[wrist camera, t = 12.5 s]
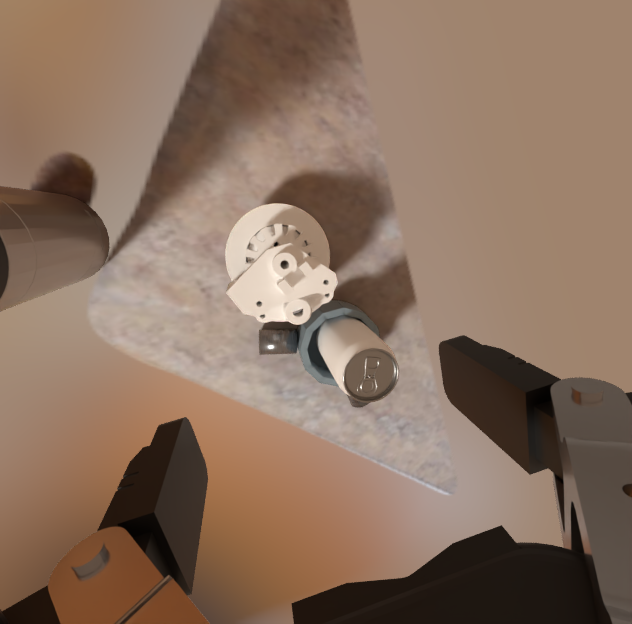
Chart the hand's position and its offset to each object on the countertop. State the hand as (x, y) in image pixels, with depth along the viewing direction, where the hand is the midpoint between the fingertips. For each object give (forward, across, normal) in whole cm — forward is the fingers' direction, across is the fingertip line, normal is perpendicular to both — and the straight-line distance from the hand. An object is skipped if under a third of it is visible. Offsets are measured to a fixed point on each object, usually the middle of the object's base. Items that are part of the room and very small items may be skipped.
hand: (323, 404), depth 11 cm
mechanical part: (+33, -1, -1) cm, 33 cm away
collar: (+33, -6, +11) cm, 35 cm away
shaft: (+33, +1, +9) cm, 34 cm away
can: (+32, -7, +11) cm, 35 cm away
